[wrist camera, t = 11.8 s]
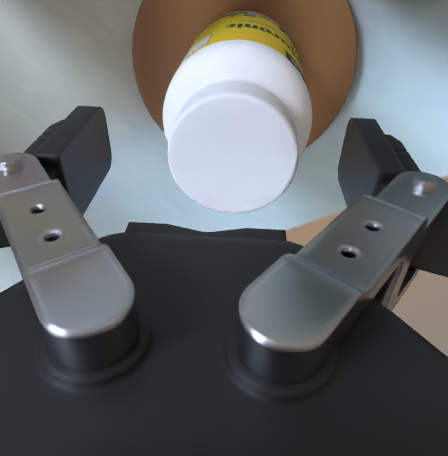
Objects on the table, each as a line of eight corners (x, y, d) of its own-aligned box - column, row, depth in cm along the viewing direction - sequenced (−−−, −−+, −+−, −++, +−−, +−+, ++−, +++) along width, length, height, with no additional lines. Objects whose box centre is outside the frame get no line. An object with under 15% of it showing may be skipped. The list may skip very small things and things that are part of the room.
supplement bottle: (322, 62, 19) (363, 155, 12) (248, 141, 22) (241, 258, 14) (237, -21, 18) (217, 22, 10) (167, 75, 20) (110, 170, 12)
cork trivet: (146, 158, 24) (144, 162, 23) (120, -73, 17) (117, -73, 17) (332, 168, 23) (333, 172, 23) (381, -67, 17) (383, -66, 16)
